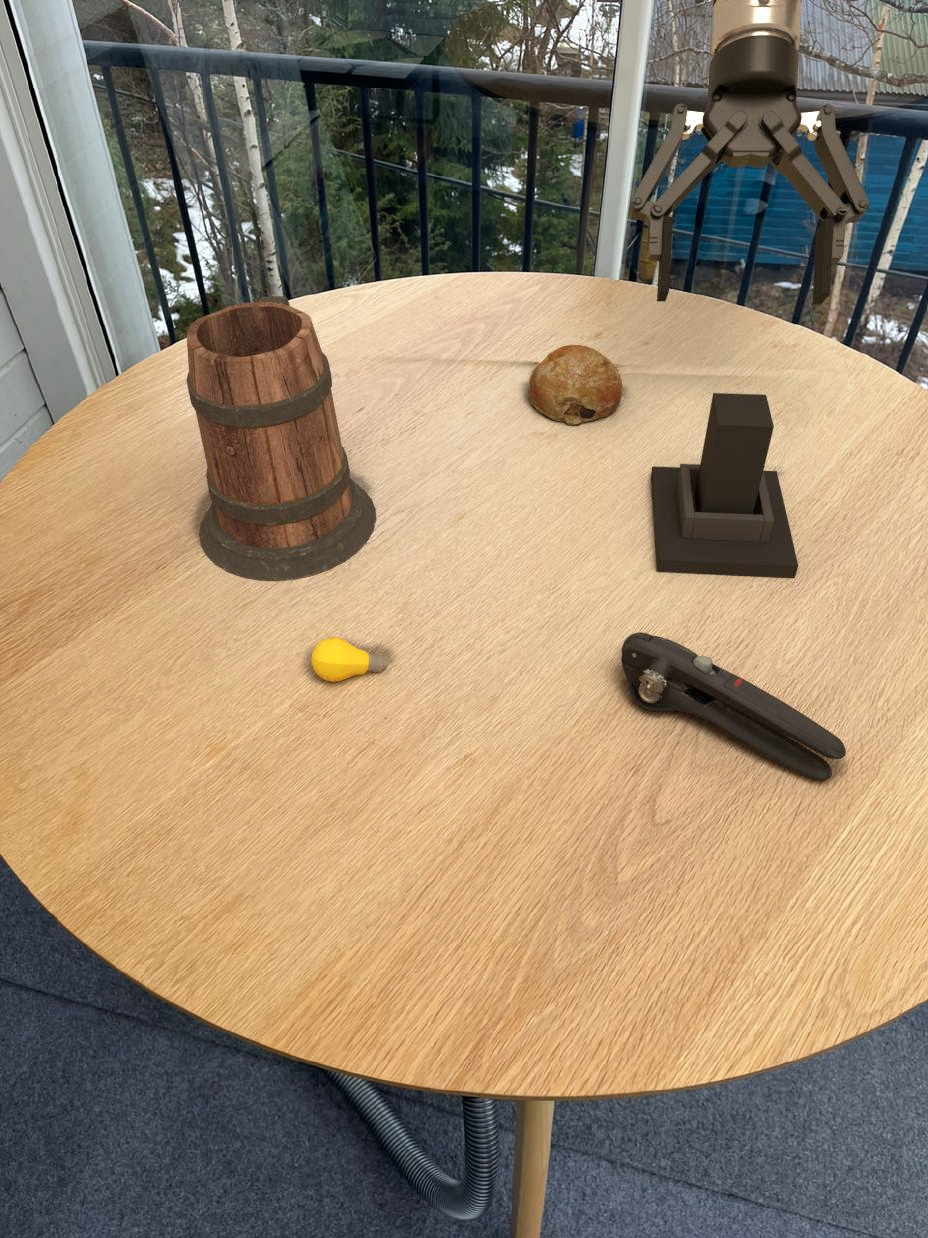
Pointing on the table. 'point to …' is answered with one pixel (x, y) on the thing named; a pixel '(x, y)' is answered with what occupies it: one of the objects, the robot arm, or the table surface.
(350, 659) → the light bulb
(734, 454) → the tall dark pillar
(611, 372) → the bread roll
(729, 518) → the base pad
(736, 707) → the can opener
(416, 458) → the table surface
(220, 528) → the tankard
